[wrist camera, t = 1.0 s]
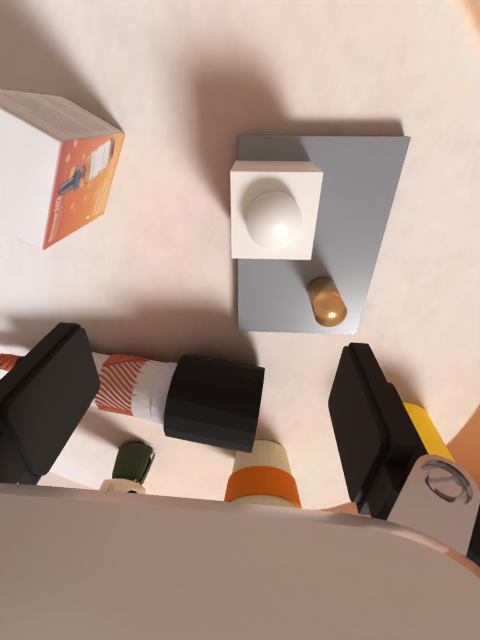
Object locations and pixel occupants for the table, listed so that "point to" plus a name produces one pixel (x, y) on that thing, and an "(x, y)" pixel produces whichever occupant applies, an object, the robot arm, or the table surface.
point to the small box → (52, 166)
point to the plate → (324, 229)
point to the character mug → (130, 469)
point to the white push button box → (274, 209)
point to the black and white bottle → (181, 396)
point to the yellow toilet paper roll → (427, 431)
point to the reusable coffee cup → (263, 477)
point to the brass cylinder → (326, 302)
